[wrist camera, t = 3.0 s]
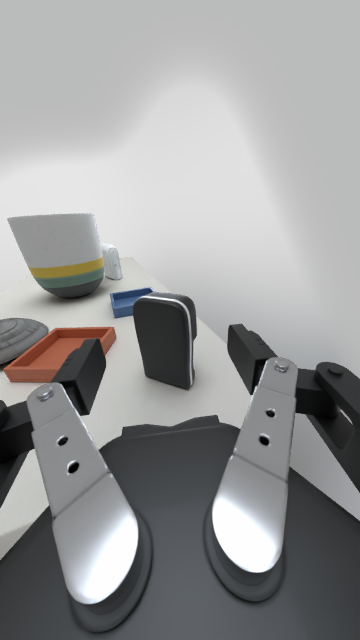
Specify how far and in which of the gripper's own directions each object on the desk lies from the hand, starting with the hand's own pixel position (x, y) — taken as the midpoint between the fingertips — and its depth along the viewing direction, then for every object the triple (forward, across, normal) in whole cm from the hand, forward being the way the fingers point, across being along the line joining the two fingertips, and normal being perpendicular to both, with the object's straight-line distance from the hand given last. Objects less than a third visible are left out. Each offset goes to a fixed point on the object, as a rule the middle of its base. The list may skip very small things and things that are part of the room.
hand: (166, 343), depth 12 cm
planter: (+50, +26, +12) cm, 58 cm away
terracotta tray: (+17, +16, +12) cm, 26 cm away
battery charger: (+10, 0, +12) cm, 16 cm away
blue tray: (+37, +7, +12) cm, 39 cm away
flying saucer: (+22, +29, +12) cm, 38 cm away
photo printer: (+68, +19, +12) cm, 72 cm away
